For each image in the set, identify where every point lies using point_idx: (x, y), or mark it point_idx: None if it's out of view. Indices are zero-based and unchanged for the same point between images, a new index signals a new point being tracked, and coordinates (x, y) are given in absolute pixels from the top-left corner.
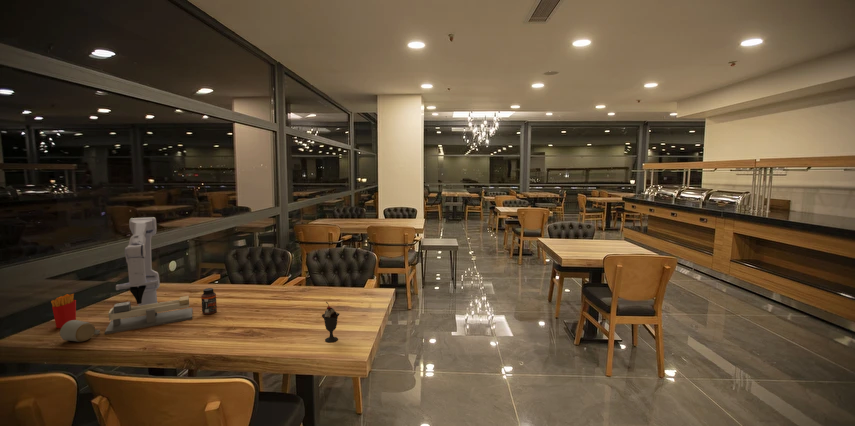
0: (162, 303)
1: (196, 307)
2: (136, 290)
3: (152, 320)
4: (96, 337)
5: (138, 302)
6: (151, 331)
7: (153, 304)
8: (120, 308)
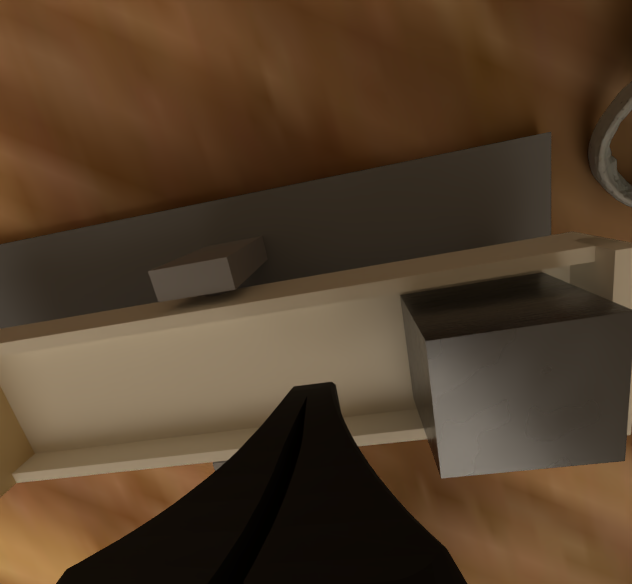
0: (154, 449)
1: (68, 477)
2: (263, 574)
3: (219, 245)
4: (592, 72)
5: (315, 392)
6: (178, 55)
7: (226, 445)
8: (517, 309)
